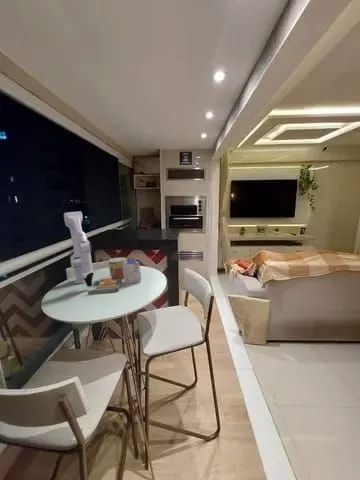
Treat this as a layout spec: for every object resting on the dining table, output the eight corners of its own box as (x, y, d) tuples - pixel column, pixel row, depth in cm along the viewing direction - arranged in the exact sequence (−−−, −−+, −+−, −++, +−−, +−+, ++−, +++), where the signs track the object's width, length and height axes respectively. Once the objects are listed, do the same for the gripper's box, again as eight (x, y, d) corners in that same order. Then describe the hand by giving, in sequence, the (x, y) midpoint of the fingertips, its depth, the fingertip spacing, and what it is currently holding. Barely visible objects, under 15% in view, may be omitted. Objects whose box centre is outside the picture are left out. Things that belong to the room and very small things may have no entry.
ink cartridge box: (141, 279, 160) (139, 257, 157) (140, 282, 154) (138, 259, 152) (125, 280, 159) (123, 258, 157) (124, 284, 154) (121, 260, 151)
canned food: (107, 277, 168) (105, 260, 165) (122, 273, 175) (120, 256, 173) (115, 281, 159) (113, 262, 157) (131, 276, 167) (129, 258, 164)
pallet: (100, 286, 153) (100, 282, 153) (117, 284, 154) (117, 280, 154) (98, 291, 145) (97, 287, 145) (116, 289, 147) (115, 285, 146)
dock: (95, 283, 157) (95, 280, 157) (122, 281, 158) (122, 278, 158) (87, 295, 140) (87, 291, 140) (117, 292, 141) (117, 288, 141)
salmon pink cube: (105, 283, 151) (104, 276, 150) (112, 282, 152) (111, 275, 151) (104, 285, 147) (103, 278, 147) (111, 284, 148) (110, 278, 147)
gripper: (83, 260, 153) (86, 282, 155) (75, 267, 138) (78, 291, 141) (95, 259, 153) (97, 281, 156) (88, 266, 139) (91, 290, 141)
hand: (89, 286), depth 148 cm, fingers closed
